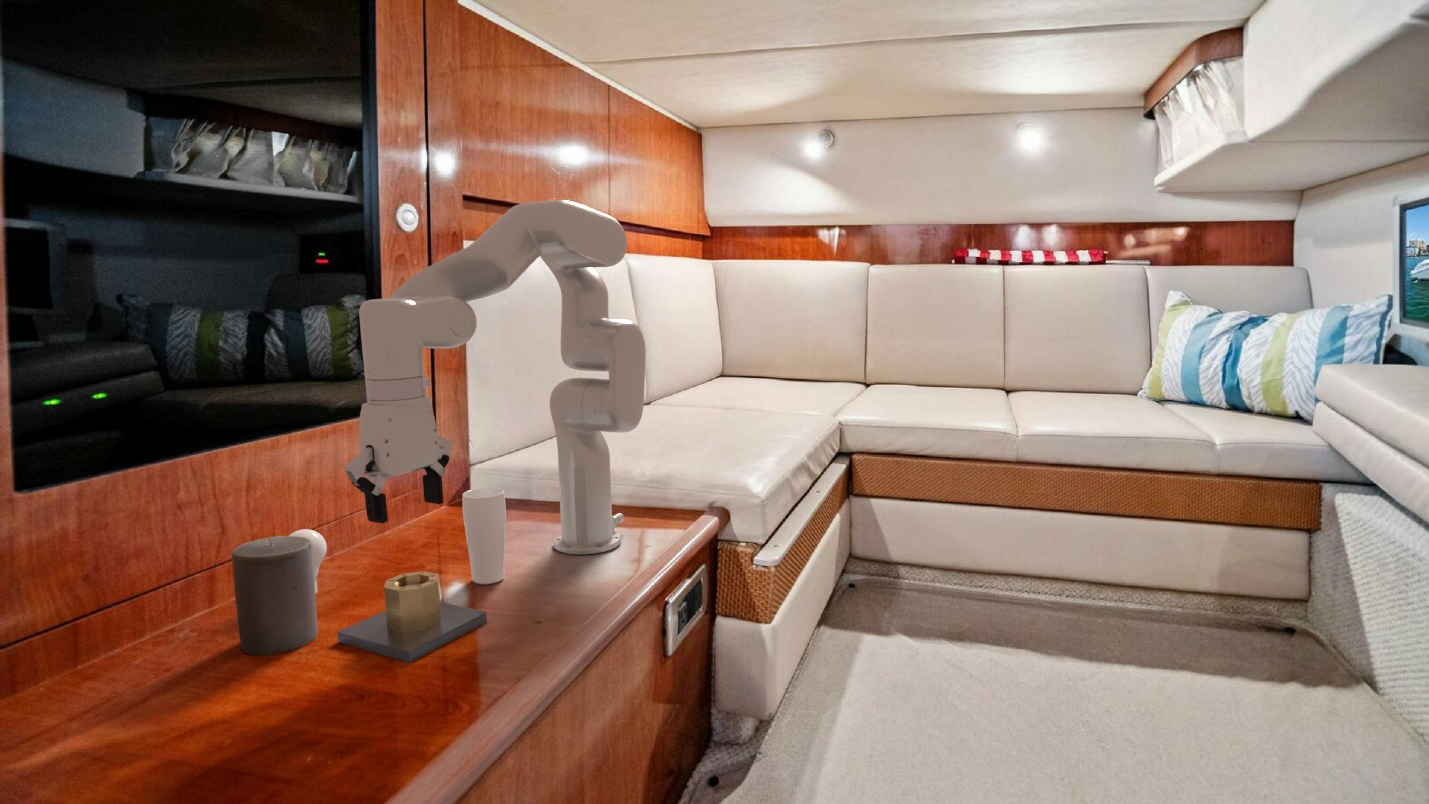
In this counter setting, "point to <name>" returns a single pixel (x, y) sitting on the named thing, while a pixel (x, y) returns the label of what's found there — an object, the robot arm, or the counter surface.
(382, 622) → the shaft block
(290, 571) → the pillar candle
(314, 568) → the lightbulb
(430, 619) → the hub ring
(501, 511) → the drinking glass
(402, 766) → the counter surface
